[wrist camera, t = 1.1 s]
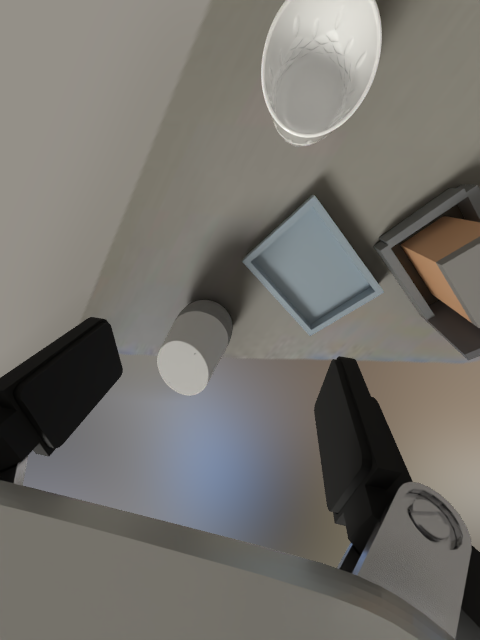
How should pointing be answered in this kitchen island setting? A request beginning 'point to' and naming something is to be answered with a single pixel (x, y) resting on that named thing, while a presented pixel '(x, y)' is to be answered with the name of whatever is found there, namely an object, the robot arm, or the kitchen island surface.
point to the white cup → (319, 65)
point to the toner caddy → (450, 263)
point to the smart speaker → (194, 346)
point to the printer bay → (439, 315)
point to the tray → (312, 268)
